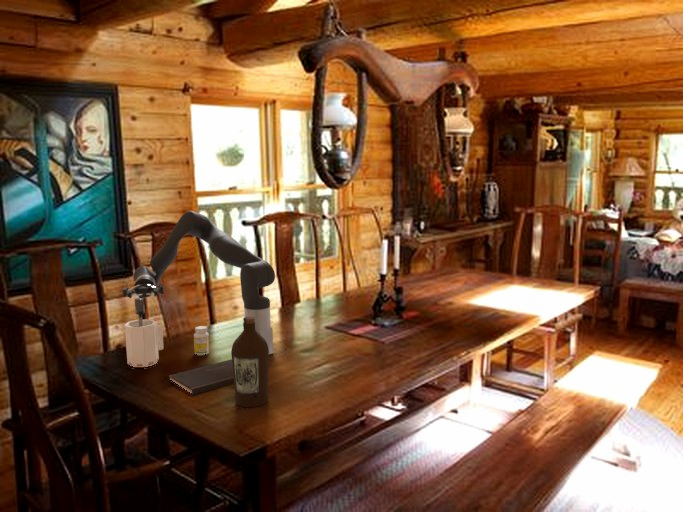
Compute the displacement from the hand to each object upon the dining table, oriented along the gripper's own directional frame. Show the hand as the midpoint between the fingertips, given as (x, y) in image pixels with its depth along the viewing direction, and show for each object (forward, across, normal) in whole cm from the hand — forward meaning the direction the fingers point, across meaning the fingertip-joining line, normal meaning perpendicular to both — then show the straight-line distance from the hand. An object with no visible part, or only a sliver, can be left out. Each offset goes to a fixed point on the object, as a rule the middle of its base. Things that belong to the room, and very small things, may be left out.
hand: (142, 294), depth 212 cm
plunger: (+11, -1, +18) cm, 21 cm away
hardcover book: (+32, +22, +23) cm, 45 cm away
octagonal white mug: (+10, 0, +22) cm, 24 cm away
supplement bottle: (+5, +19, +22) cm, 30 cm away
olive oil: (+54, +31, +23) cm, 66 cm away
